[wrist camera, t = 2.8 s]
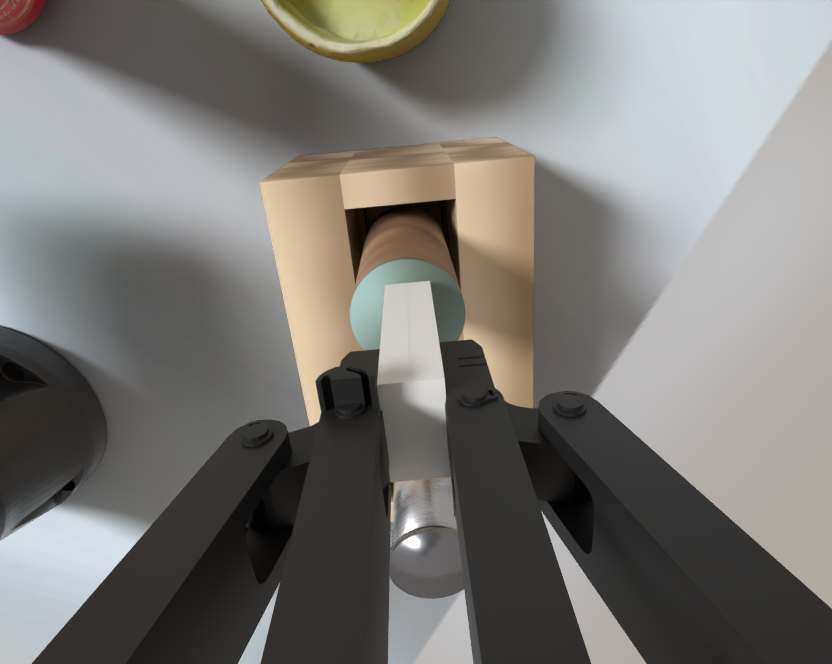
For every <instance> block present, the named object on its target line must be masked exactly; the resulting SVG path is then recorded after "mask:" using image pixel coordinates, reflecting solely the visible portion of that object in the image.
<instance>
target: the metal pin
mask: <svg viewBox="0 0 832 664" xmlns="http://www.w3.org/2000/svg"><path fill="white" fill-rule="evenodd" d="M389 575H390V577H391V579H392V581H393V582H394V584H395V585H396V586H397V587H398V588H400V589H401V590H402V591H404V592H406V593H408V594H410V595H413V596H416V597H421V598H442V597H447V596H450V595H453V594H455V593H458V592H459V591H461V590H463V589H464V581H463V573H462V565H461V557H460V549H459V541H458V533H457V525H456V517H455V516H454V507H453V494H452V480H451V477H444V478H433V479H422V480H410V481H399V482H394V496H393V546H392V547H391V549H390V570H389Z"/></svg>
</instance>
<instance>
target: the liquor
mask: <svg viewBox="0 0 832 664" xmlns="http://www.w3.org/2000/svg"><path fill="white" fill-rule="evenodd" d="M45 3H46V0H0V35H8V34H12V33H15V32H19V31H21V30H23V29H24V28H26V27H28V26H30V25H31V24H32V23H33V22H34V21H35V20H36V19H37V18H38V17H39V15H40V13H41V11H42V10H43V8H44V6H45Z"/></svg>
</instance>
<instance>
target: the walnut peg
mask: <svg viewBox="0 0 832 664" xmlns="http://www.w3.org/2000/svg"><path fill="white" fill-rule="evenodd" d="M422 281H430V285H431V292H432V299H433V305H434V312H435V318H436V325H437V332H438V338H439V342H448V341H458V339H459V338H460V336H461V333H462V331H463V328H464V324H465V315H466V311H465V304H464V300H463V296H462V293H461V290H460V287H459V283H458V280H457V277H456V274H455V270H454V267H453V264H452V261H451V257H450V254H449V251H448V248H447V244H446V241H445V238H444V235H443V232H442V229H441V227H440V226H439V224H438V223H437V221H436V220H435V219H434V218H433V217H432V216H431V215H430V214H428V213H427V212H425V211H423V210H421V209H418V208H415V207H409V206H400V207H395V208H391V209H389V210H387V211H385V212H383V213H382V214H380V215H379V216H378V217H377V218H376V219H375V220H374V221H373V223H372V224H371V225H370V227H369V229H368V232H367V235H366V239H365V243H364V248H363V252H362V257H361V261H360V266H359V270H358V275H357V279H356V284H355V288H354V293H353V297H352V302H351V307H350V322H351V327H352V330H353V333H354V335H355V337H356V339H357V341H358V342H359V344H360V345H361V347H362V348H363V349H364V350H374V349H380V341H381V328H382V316H383V304H384V291H385V285H389V284H400V283H411V282H422Z"/></svg>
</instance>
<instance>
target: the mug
mask: <svg viewBox="0 0 832 664" xmlns="http://www.w3.org/2000/svg"><path fill="white" fill-rule="evenodd" d="M261 1H262V2H263V4H264V6H265V7H266V9H267V11H268V12H269V14H270V15H271V16H272V17H273V18H274V19H275V20H276V21H277V23H278V24H279V25H280V26H281V27H282V28H283V29H284V30H285V31H286V32H287V33H288V34H289V35H290V36H291V37H292V38H293V39H295V40H296V41H297V42H299V43H300V44H301V45H303V46H304V47H306V48H307V49H309V50H311V51H313V52H315V53H317V54H319V55H322V56H325V57H328V58H331V59H335V60H339V61H346V62H362V63H365V62H374V61H380V60H387V59H392V58H395V57H398V56H400V55H402V54H404V53H406V52H409V51H410V50H412V49H413V48H415V47H416V46H417V45H419V44H420V43H422V42H423V41H424V40H425V39H426V38H427V37H428V36H429V35H430V34H431V33H432V32H433V30H434V29H435V28H436V27H437V25H438V24H439V22H440V20H441V19H442V17H443V16H444V14H445V12H446V10H447V8H448V5H449V3H450V0H261Z"/></svg>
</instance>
